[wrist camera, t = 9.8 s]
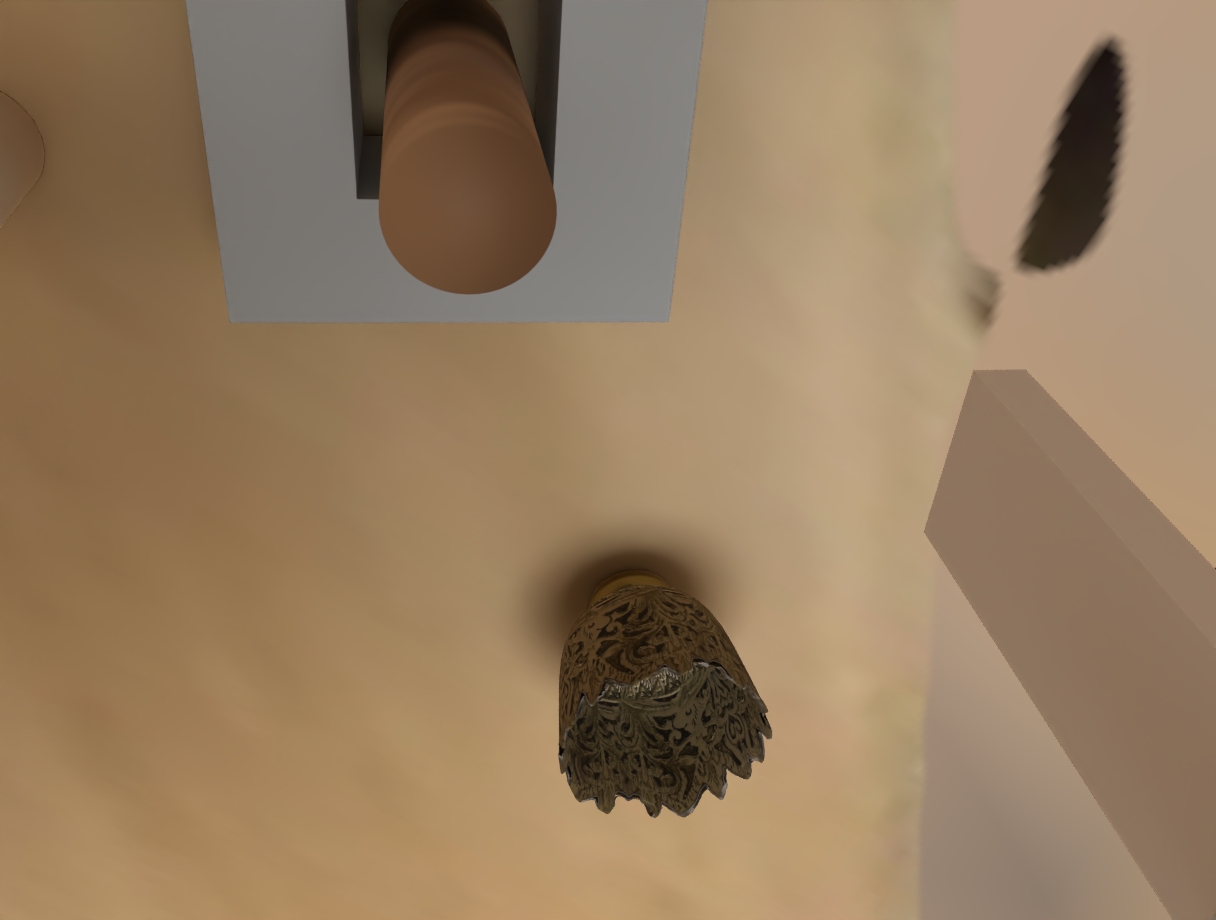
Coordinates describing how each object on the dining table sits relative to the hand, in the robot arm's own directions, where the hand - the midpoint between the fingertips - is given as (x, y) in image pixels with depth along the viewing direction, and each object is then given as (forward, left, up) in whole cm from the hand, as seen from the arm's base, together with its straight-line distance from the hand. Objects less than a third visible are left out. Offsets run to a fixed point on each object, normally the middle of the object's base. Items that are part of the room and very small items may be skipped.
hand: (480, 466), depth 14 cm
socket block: (0, 0, -20) cm, 20 cm away
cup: (+7, -21, -21) cm, 30 cm away
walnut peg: (0, 0, -20) cm, 20 cm away
